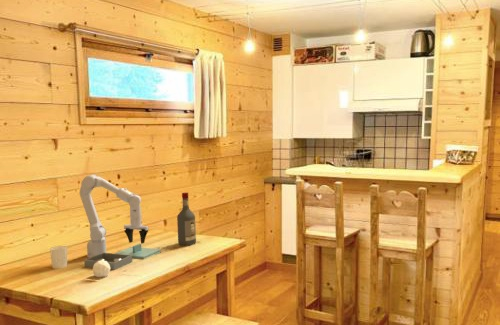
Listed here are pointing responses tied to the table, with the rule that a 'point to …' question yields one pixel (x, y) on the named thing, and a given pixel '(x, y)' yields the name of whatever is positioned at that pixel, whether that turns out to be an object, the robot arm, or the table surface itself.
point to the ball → (101, 268)
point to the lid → (139, 252)
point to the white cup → (59, 256)
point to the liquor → (186, 224)
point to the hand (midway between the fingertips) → (136, 242)
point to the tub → (109, 260)
